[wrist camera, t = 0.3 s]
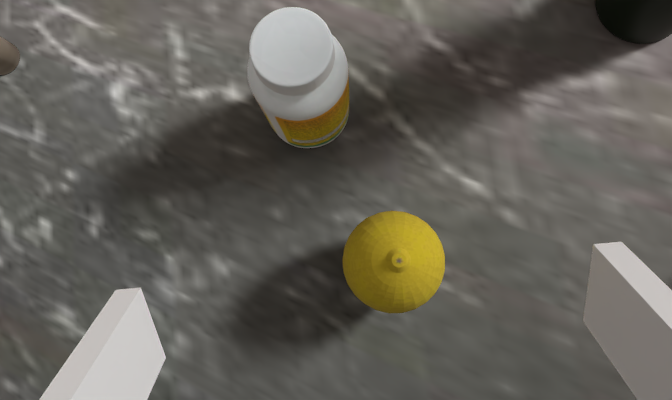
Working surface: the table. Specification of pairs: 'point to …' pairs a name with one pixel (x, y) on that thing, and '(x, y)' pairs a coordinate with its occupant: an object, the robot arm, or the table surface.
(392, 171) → the table surface
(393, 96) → the table surface
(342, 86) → the supplement bottle
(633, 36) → the wine bottle
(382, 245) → the lemon
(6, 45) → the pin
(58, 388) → the robot arm
